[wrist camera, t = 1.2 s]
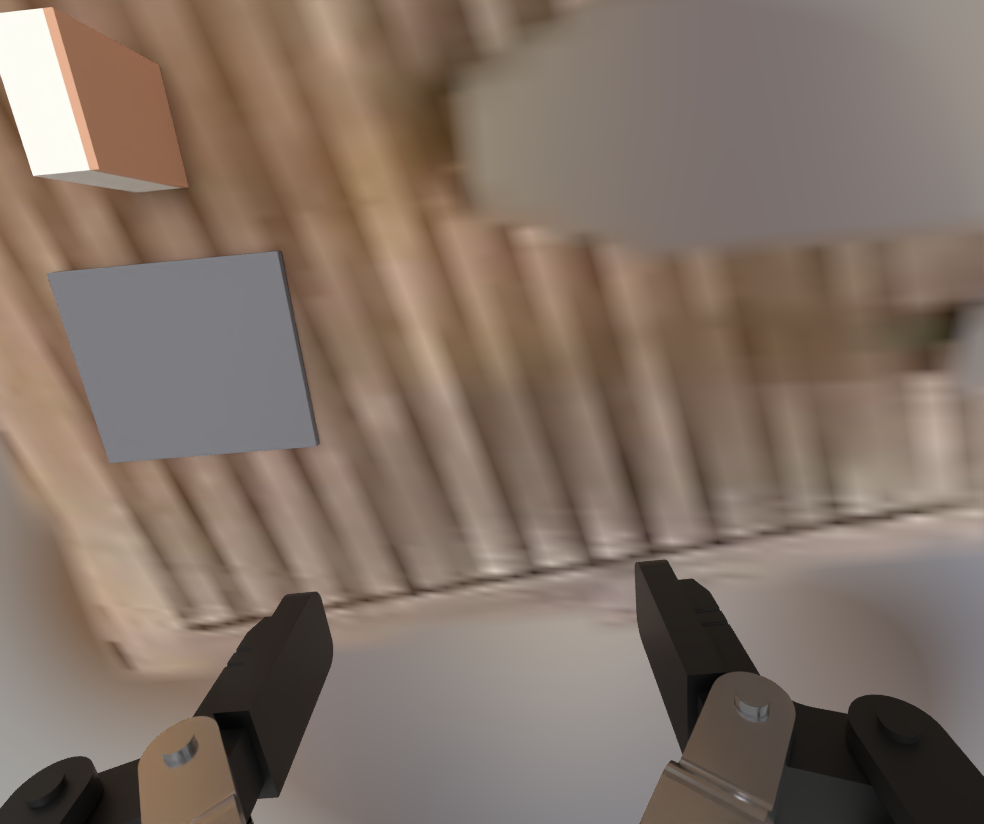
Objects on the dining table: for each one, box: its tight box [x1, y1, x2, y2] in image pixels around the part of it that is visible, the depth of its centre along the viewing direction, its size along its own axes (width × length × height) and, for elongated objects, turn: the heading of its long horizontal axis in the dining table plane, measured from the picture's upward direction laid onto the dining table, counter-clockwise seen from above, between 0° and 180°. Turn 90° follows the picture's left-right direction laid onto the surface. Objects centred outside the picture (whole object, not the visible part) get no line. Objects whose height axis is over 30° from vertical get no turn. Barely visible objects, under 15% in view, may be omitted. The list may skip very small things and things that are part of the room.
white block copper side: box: [0, 7, 188, 193], centre depth 29 cm, size 7×4×8 cm, turn 5°
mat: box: [47, 251, 319, 463], centre depth 37 cm, size 14×16×1 cm
